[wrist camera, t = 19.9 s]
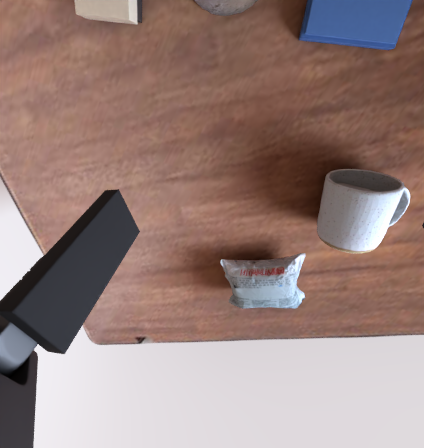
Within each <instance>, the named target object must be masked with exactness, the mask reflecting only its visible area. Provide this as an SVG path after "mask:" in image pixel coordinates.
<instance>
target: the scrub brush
mask: <svg viewBox="0 0 424 448" xmlns="http://www.w3.org/2000/svg"><path fill="white" fill-rule="evenodd" d="M74 2H75V11H76V14H77V15H80V16H82V17H84V18H86V19H91V20H100V21H109V22H118V23H127V24H136V25H137V22H140V23H142V0H74Z"/></svg>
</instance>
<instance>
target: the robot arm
mask: <svg viewBox="0 0 424 448" xmlns="http://www.w3.org/2000/svg"><path fill="white" fill-rule="evenodd" d="M422 226H423V228H424V223H423V225H422ZM139 232H140V231H139V229H138V227H137V225H136V223H135V221H134V219H133V217H132V215H131V213H130V211H129V209H128V207H127V205H126V203H125V201H124V199H123V197H122V195H121V193H120V191H119V189H118V190H105V191H104V193H103V194H102V195H101V196H100V197H99V198H98V199H97V200H96V201H95V202H94V203H93V204H92V205H91V206H90V208H89V209H88V210H87V211H86V212H85V213H84V214H83V215H82V216H81V217H80V218H79V219H78V220H77V221H76V223H75V224H74V225H73V226H72V227H71V228H70V229H69V230H68V231H67V232H66V233H65V234H64V235H63V236H62V237H61V239H60V240H59V241H58V242H57V243H56V244H55V245H54V246H53V247H52V248H51V249H50V250H49V251H48V252H47V254H46V255H44V256H43V257H42V258H40V259H39V260H38V261H37V262H36V264H35V265H34V266H33V267H32V268H31V269H30V271H28V272H27V273H26V274H25V275H24V276H23V278H22V280H20V281H19V282H18V283H17V284H16V285H15V286H14V287H13V288H12V289H11V290H10V291H9V292H8V293H7V294H6V295H5V297H4V298H3V299H2V300H1V301H0V448H33V441H34V422H35V421H34V420H35V402H36V383H37V363H38V356H37V353H36V352H35V351H34V348H35V347H36V346H37V344H39V345H40V346H41V347H43V348H44V349H45V350H47V351H48V352H54V353H61V354H65V352H66V351H67V349H68V348H69V346H70V344H71V343H72V341H73V339H74V338H75V336H76V335H77V333H78V331H79V330H80V328H81V326H82V325H83V323H84V322H85V320H86V318H87V317H88V315H89V313H90V312H91V310H92V309H93V307H94V305H95V304H96V302H97V300H98V299H99V297H100V296H101V294H102V292H103V291H104V289H105V287H106V286H107V284H108V283H109V281H110V279H111V278H112V276H113V274H114V273H115V271H116V270H117V268H118V266H119V265H120V263H121V261H122V260H123V258H124V257H125V255H126V253H127V252H128V250H129V248H130V247H131V245H132V244H133V242H134V240H135V239H136V237H137V235H138V234H139Z"/></svg>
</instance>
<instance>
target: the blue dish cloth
mask: <svg viewBox="0 0 424 448" xmlns="http://www.w3.org/2000/svg"><path fill="white" fill-rule="evenodd" d="M412 1H413V0H307V5H306V9H305V13H304V18H303V22H302V27H301V31H300V36H299V40H302V41H311V42H320V43H329V44H338V45H347V46H356V47H365V48H374V49H383V50H391V49H394V48H395V46H396V43H397V40H398V38H399V35H400V32H401V30H402V27H403V24H404V22H405V19H406V17H407V14H408V11H409V9H410V6H411V3H412Z"/></svg>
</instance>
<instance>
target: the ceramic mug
mask: <svg viewBox="0 0 424 448" xmlns="http://www.w3.org/2000/svg"><path fill="white" fill-rule="evenodd" d="M409 201H410V193H409V191H408V189H407V188H406V187H404V183H402V182H401V181H400V180H399V179H397V178H395V177H392V176H390V175H387V174H383V173H379V172H375V171H369V170H359V169H339V170H334V171H331V172H329V173H328V174H327V175H326V178H325V183H324V189H323V194H322V199H321V205H320V211H319V215H318V220H317V233H318V236H319V237H320V239H321V240H322V241H323V242H324V243H325V244H327V245H328V246H330V247H332V248H334V249H337V250H339V251H342V252H348V253H366V252H370V251H372V250H374V249H375V248H376V247H377V246H378V245H379V244H380V242H381V241H382V239H383V237H384V235H385V233H386V231H387V228H388V227H389V226H392V225H393V224H394V223H395V222H397V221H398V220H399V219H400V218H401V216H402V215H403V214H404V212H405V210H406V209H407V207H408V204H409Z"/></svg>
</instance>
